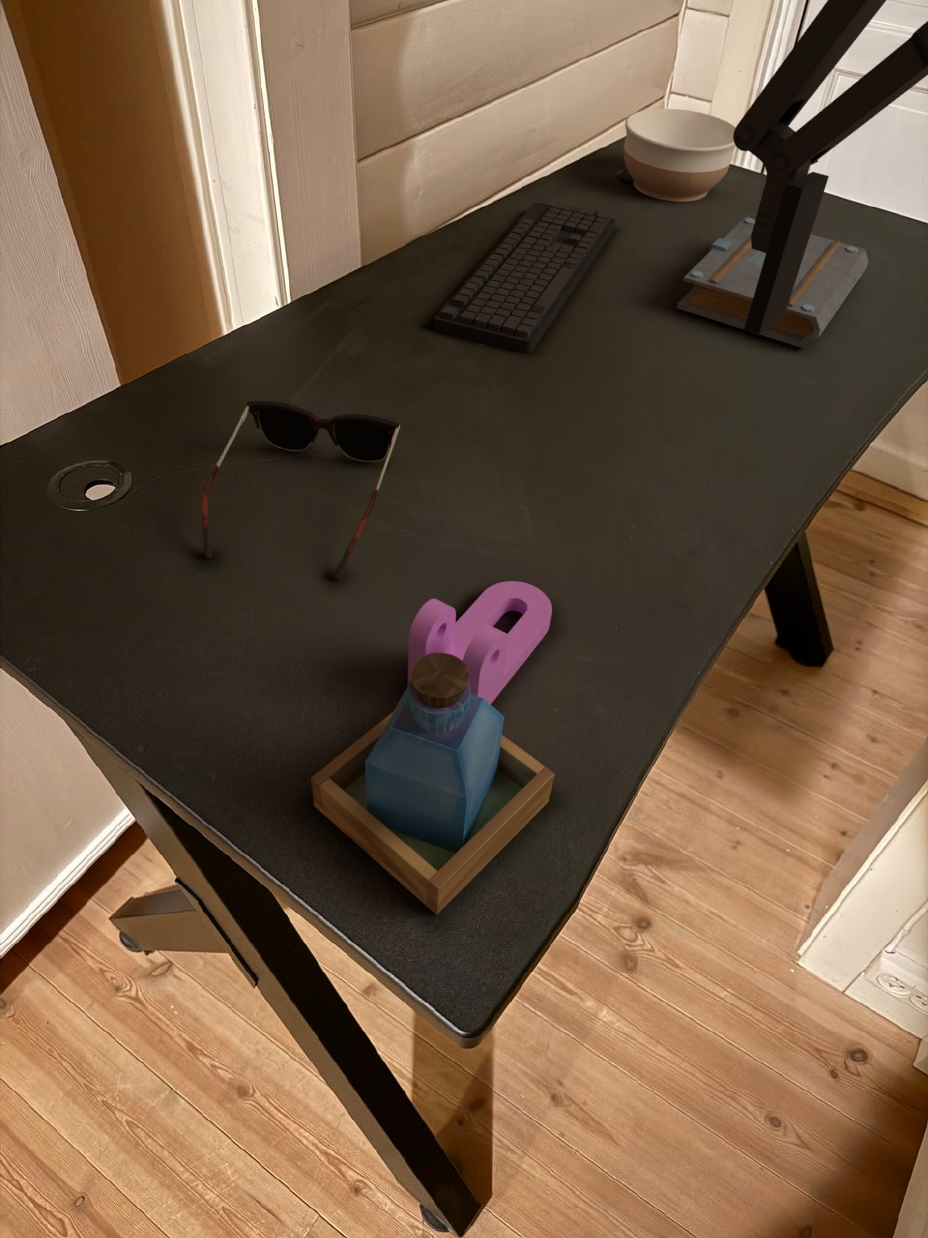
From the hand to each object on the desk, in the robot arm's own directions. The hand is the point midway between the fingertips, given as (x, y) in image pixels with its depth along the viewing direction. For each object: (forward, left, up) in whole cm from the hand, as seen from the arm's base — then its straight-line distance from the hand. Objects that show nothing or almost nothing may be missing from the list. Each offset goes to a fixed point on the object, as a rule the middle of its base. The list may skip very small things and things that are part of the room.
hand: (902, 376), depth 40 cm
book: (+31, -63, -30) cm, 76 cm away
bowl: (+58, -83, -30) cm, 106 cm away
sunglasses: (+40, +3, -30) cm, 50 cm away
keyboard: (+54, -46, -30) cm, 77 cm away
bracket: (+18, +4, -30) cm, 35 cm away
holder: (+12, +17, -29) cm, 36 cm away
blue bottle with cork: (+12, +17, -29) cm, 35 cm away
